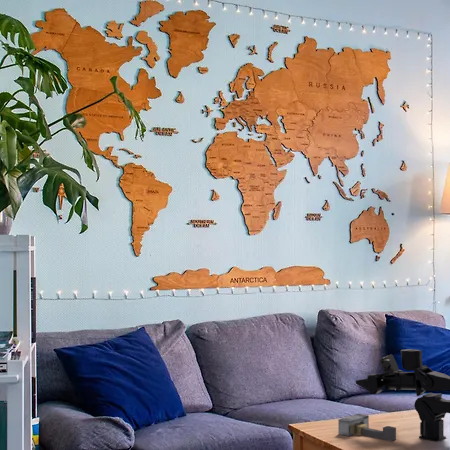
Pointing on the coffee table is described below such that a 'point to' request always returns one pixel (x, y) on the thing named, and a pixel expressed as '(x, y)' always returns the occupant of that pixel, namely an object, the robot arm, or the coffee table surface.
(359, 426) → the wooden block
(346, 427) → the curved dark grey plate
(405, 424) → the coffee table surface
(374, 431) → the stepped grey block
